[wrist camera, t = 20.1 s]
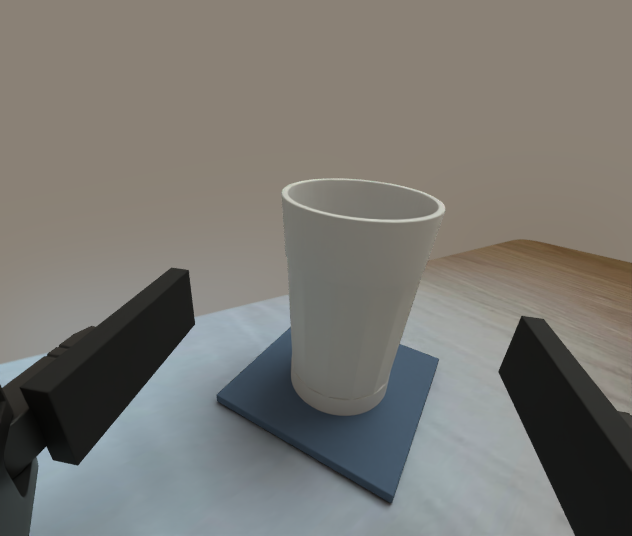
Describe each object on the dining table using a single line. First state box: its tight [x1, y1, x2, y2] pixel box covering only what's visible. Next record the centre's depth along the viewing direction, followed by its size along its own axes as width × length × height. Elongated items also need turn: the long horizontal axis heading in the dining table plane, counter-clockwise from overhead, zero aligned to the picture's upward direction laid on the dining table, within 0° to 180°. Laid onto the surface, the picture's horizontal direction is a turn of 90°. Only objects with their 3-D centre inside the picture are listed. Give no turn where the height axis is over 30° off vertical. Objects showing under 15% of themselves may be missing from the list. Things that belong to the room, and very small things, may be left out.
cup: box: [281, 179, 445, 416], centre depth 19 cm, size 8×8×12 cm
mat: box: [217, 327, 439, 503], centre depth 22 cm, size 11×11×1 cm
